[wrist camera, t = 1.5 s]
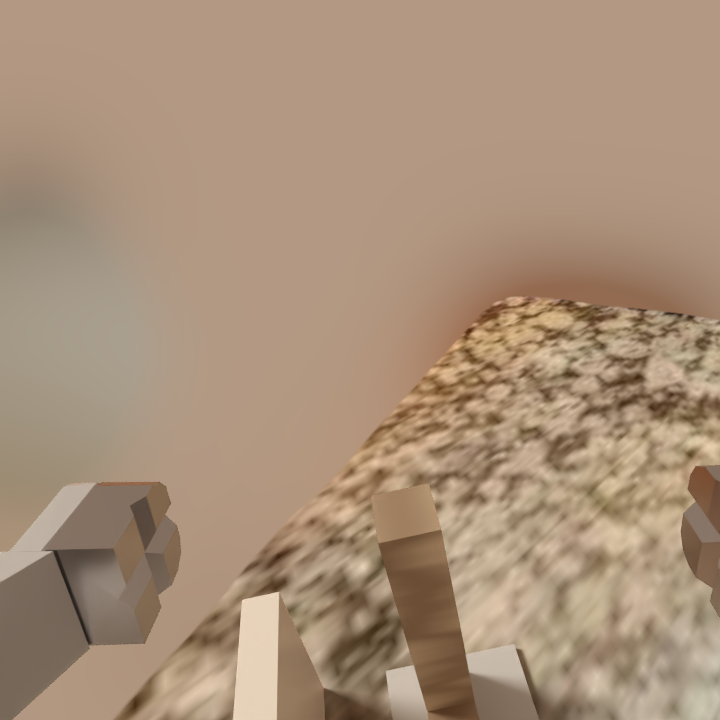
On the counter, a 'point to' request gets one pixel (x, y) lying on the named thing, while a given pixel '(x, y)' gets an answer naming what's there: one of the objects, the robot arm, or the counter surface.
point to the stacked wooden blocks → (425, 599)
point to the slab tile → (274, 666)
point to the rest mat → (489, 683)
